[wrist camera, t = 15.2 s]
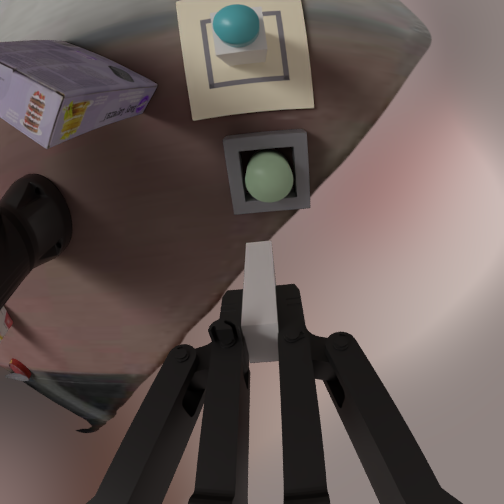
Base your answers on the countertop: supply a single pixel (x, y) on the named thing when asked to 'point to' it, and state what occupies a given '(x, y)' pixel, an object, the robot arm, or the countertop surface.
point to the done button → (268, 176)
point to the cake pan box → (65, 90)
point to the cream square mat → (246, 75)
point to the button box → (265, 140)
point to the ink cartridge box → (4, 322)
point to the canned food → (18, 371)
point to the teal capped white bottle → (239, 34)
